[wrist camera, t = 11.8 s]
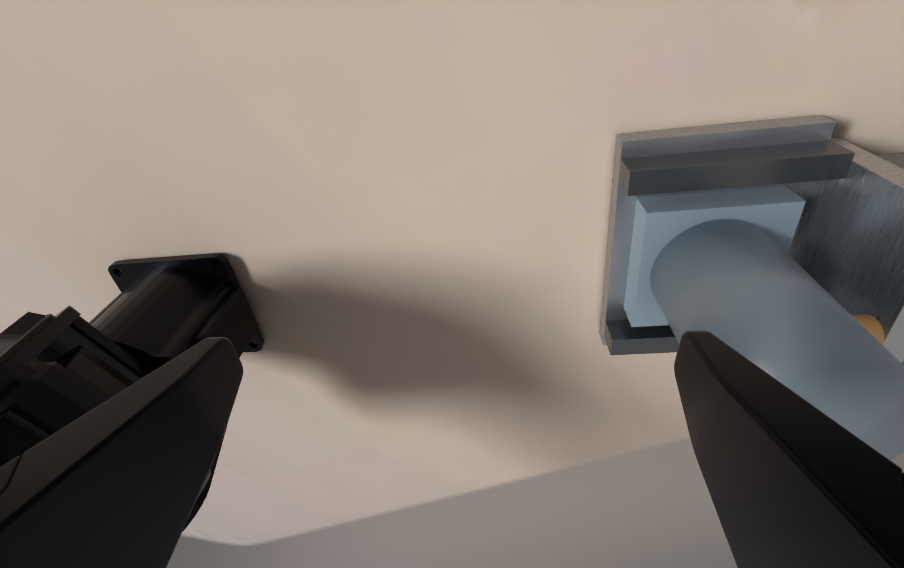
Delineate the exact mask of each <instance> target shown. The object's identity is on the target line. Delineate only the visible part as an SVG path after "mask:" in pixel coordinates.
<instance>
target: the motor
mask: <svg viewBox="0 0 904 568" xmlns="http://www.w3.org/2000/svg"><path fill="white" fill-rule="evenodd" d="M835 125H836V121H833V120H831V119H829V118H827V117H825V116H822V115H814V116H804V117H793V118H782V119H772V120H761V121H750V122H740V123H729V124H719V125H708V126H697V127H687V128H676V129H665V130H655V131H644V132H634V133H623V134H616V144H615V155H614V167H613V179H612V190H611V202H610V214H609V225H608V237H607V249H606V260H605V272H604V284H603V296H602V307H601V319H600V331H599V334H600V337H601V340H602V343H603V345H607V346H608V349H609V352H610V355H625V354H647V353H669V352H677V351H678V347H679V343H678V341H677V339H676V337H675V335H674V333H673V331H672V329H671V327H670V325H662V326H642V327H631V324H630V322H629V319H628V317H627V315H626V312H625V310H624V302H625V293H626V285H627V277H628V268H629V260H630V251H631V243H632V235H633V226H634V218H635V210H636V201H637V198H642V197H654V196H667V195H679V194H692V193H705V192H717V191H730V190H742V189H755V188H768V187H780V186H786V187H787V188H789V189H790V190H791V191H793V192H794V193H795V194H797V195H798V196H799V197H801V198H802V199H803V200H805V201H806V202H805V205H804V208H803V211H802V214H801V217H800V220H799V223H798V226H797V229H796V232H795V235H794V237H793V240H792V243H791V246H790V249H789V252H788V255H789V256H790V257H791V258H792V259H793V260H794V261H795V262H796V263H798V264H799V265H800V266H801V267H802V268H803V269H804V270H805V271H806V272H807V273H808V274H809V275H810V276H811V277H812V278H813V279H814V280H815V281H816V282H817V283H818V284H819V285H820V286H822V287H823V288H824V289H825V290H826V291H827V292H828V293H829V294H830V295H831V296H832V297H833V298H834V299H835V300H836V301H837V302H838V303H839V304H840V305H841V306H842V307H843V308H844V309H845V310H847V311H848V312H849V313H850V314H851V315H860V314H868V315H871V316H873V317H875V318H876V319H877V320H878V321H879V323H880V324H881V326H882V328H883V331H884V345H883V346H884V347H885V348H886V349H887V350H888V351H889V352H890V353H891V354H892V355H893V356H894V357H896V358H897V359H898V360H899V361H900V362H901V363H902V364H903V365H904V153H897V154H885V155H874V154H872V153H870V152H868V151H866V150H864V149H862V148H860V147H858V146H856V145H854V144H852V143H850V142H848V141H846V140H844V139H842V138H840V137H836V138H831V136H832V133H833V130H834V128H835Z"/></svg>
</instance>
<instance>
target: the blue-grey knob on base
mask: <svg viewBox="0 0 904 568" xmlns="http://www.w3.org/2000/svg"><path fill="white" fill-rule="evenodd" d="M805 202H806V201H805V200H803V199H802V198H801V197H799V196H798V195H797V194H795V193H794V192H793V191H791V190H790V189H789V188H787V187H786V186H780V187H768V188H755V189H742V190H730V191H717V192H705V193H692V194H679V195H667V196H654V197H642V198H637V201H636V210H635V218H634V226H633V235H632V243H631V251H630V260H629V268H628V277H627V285H626V293H625V302H624V310H625V312H626V315H627V317H628V319H629V322H630V324H631V327H642V326H662V325H670V327H671V329H672V331H673V333H674V335H675V337H676V339H677V341H678V343H679V344H680V340H681V337H682V335H683V333H684V332H686V331H708V332H710V333H712V334H713V335H715V336H716V337H718V338H719V339H720V340H722V341H723V342H725V343H726V344H727V345H729V346H730V347H732V348H733V349H734V350H736V351H737V352H739V353H740V354H741V355H743V356H744V357H746V358H747V359H748V360H750V361H751V362H753V363H754V364H755V365H757V366H758V367H760V368H761V369H762V370H764V371H765V372H767V373H768V374H770V375H771V376H772V377H774V378H775V379H777V380H778V381H779V382H781V383H782V384H784V385H785V386H786V387H788V388H789V389H791V390H792V391H793V392H795V393H796V394H798V395H799V396H800V397H802V398H803V399H805V400H806V401H807V402H809V403H810V404H812V405H813V406H814V407H816V408H817V409H819V410H820V411H821V412H823V413H824V414H826V415H827V416H828V417H830V418H831V419H833V420H834V421H836V422H837V423H838V424H840V425H841V426H843V427H844V428H845V429H847V430H848V431H850V432H851V433H852V434H854V435H855V436H857V437H858V438H859V439H861V440H862V441H864V442H865V443H866V444H868V445H869V446H871V447H872V448H873V449H875V450H876V451H878V452H879V453H880V454H882V455H883V456H885V457H886V458H887V459H889V460H891V459H893V458H895V457H896V456H898V455H900V454H901V453H903V452H904V365H903V364H902V363H901V362H900V361H899V360H898V359H897V358H896V357H894V356H893V355H892V354H891V353H890V352H889V351H888V350H887V349H886V348H885V347H884V346H883V345H884V331H883V328H882V326H881V324H880V323H879V321H878V320H877V319H876V318H875V317H873V316H871V315H868V314H860V315H851V314H850V313H849V312H848V311H847V310H845V309H844V308H843V307H842V306H841V305H840V304H839V303H838V302H837V301H836V300H835V299H834V298H833V297H832V296H831V295H830V294H829V293H828V292H827V291H826V290H825V289H824V288H823V287H822V286H820V285H819V284H818V283H817V282H816V281H815V280H814V279H813V278H812V277H811V276H810V275H809V274H808V273H807V272H806V271H805V270H804V269H803V268H802V267H801V266H800V265H799V264H798V263H796V262H795V261H794V260H793V259H792V258H791V257H790V256H789V255H788V252H789V249H790V246H791V243H792V240H793V237H794V235H795V232H796V229H797V226H798V223H799V220H800V217H801V214H802V211H803V208H804V205H805Z"/></svg>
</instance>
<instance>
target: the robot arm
mask: <svg viewBox="0 0 904 568" xmlns="http://www.w3.org/2000/svg"><path fill="white" fill-rule="evenodd" d="M215 262H218V263H219V264H220V265H221V266H219V265H217V264H216V263H215ZM120 270H121V271H122V272H121V271H120ZM108 271H109V273H110V275H111V277H112V278H113V280H114V281H115V283H116V285H117V286H118V288H119V289H120V291H121V292H122V293H121V294H120V295H119V296H117V297H116V298H115V299H114V300H113V301H112V302H111V303H110V304H109V305H108V306H107V307H106V308H104V309H103V310H102V311H101V312H100V313H99V314H98V315H97V316H96V317H95V318H94V319H93V320H91V321H90V322H89V323H88V322H87V321H85V320H84V319H83V318H81V317H80V315H81V314H80V313H79V312H77V311H76V310H75V309H73V308H72V307H71V306H68V307H67V308H65V309H64V310H63V311H61V312H60V313H58V314H57V315H56V316H53V315H52V314H49V315H41V314H36V313H31V312H28V313H26V314H25V315H24V316H22V317H21V318H20V319H18V320H17V321H16V322H14V323H13V324H12V325H11V326H9V327H8V328H7V329H5V330H4V331H3V332H2V333H0V568H166V567H167V565H168V563H169V560H170V558H171V556H172V553H173V551H174V549H175V547H176V544H177V542H178V540H179V538H180V535H181V533H182V532H183V531H184V529H185V528H186V527H187V526H188V525H189V523H190V522H191V521H192V519H193V518H194V517H195V515H196V514H197V512H198V511H199V509H200V507H201V506H202V504H203V502H204V500H205V498H206V496H207V494H208V491H209V488H210V485H211V481H212V478H213V474H214V471H215V467H216V464H217V460H218V456H219V453H220V449H221V446H222V442H223V439H224V435H225V431H226V428H227V423H228V420H229V417H230V414H231V411H232V408H233V405H234V401H235V398H236V395H237V392H238V389H239V386H240V383H241V380H242V376H243V367H242V363H241V361H240V359H239V358H240V356H241V354H242V353H243V352H257V351H260V350H261V349H262V347H263V345H264V343H265V342H264V339H263V337H262V334H261V332H260V330H259V328H258V324H257V321H256V319H255V317H254V315H253V312H252V310H251V308H250V306H249V304H248V301H247V299H246V297H245V295H244V293H243V291H242V290H241V288H240V286H239V283H238V281H237V279H236V277H235V274H234V272H233V270H232V268H231V265H230V263H229V261H228V260H227V258H226V257H225V256H223V255H221V254H216V253H215V254H201V255H188V256H175V257H161V258H148V259H134V260H121V261H115V262H114V263H113V264H112V265H110V266H109V268H108ZM253 342H254V343H253ZM255 343H256V344H255ZM674 372H675V377H676V381H677V385H678V390H679V394H680V398H681V402H682V406H683V410H684V414H685V418H686V422H687V426H688V430H689V434H690V438H691V442H692V446H693V449H694V452H695V455H696V458H697V461H698V463H699V466H700V469H701V471H702V474H703V477H704V479H705V482H706V485H707V487H708V490H709V493H710V495H711V498H712V501H713V503H714V506H715V508H716V511H717V514H718V517H719V519H720V522H721V524H722V527H723V530H724V533H725V535H726V538H727V540H728V543H729V546H730V549H731V551H732V554H733V556H734V559H735V562H736V564H737V567H738V568H904V473H903V472H902V469H901V468H900V467H899V466H897V465H896V464H894V463H893V462H892V461H890V460H889V459H887V458H886V457H885V456H883V455H882V454H880V453H879V452H878V451H876V450H875V449H873V448H872V447H871V446H869V445H868V444H866V443H865V442H864V441H862V440H861V439H859V438H858V437H857V436H855V435H854V434H852V433H851V432H850V431H848V430H847V429H845V428H844V427H843V426H841V425H840V424H838V423H837V422H836V421H834V420H833V419H831V418H830V417H828V416H827V415H826V414H824V413H823V412H821V411H820V410H819V409H817V408H816V407H814V406H813V405H812V404H810V403H809V402H807V401H806V400H805V399H803V398H802V397H800V396H799V395H798V394H796V393H795V392H793V391H792V390H791V389H789V388H788V387H786V386H785V385H784V384H782V383H781V382H779V381H778V380H777V379H775V378H774V377H772V376H771V375H770V374H768V373H767V372H765V371H764V370H762V369H761V368H760V367H758V366H757V365H755V364H754V363H753V362H751V361H750V360H748V359H747V358H746V357H744V356H743V355H741V354H740V353H739V352H737V351H736V350H734V349H733V348H732V347H730V346H729V345H727V344H726V343H725V342H723V341H722V340H720V339H719V338H718V337H716V336H715V335H713V334H712V333H710V332H708V331H686V332H684V333H683V335H682V337H681V340H680V344H679V347H678V351H677V355H676V359H675V363H674Z"/></svg>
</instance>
